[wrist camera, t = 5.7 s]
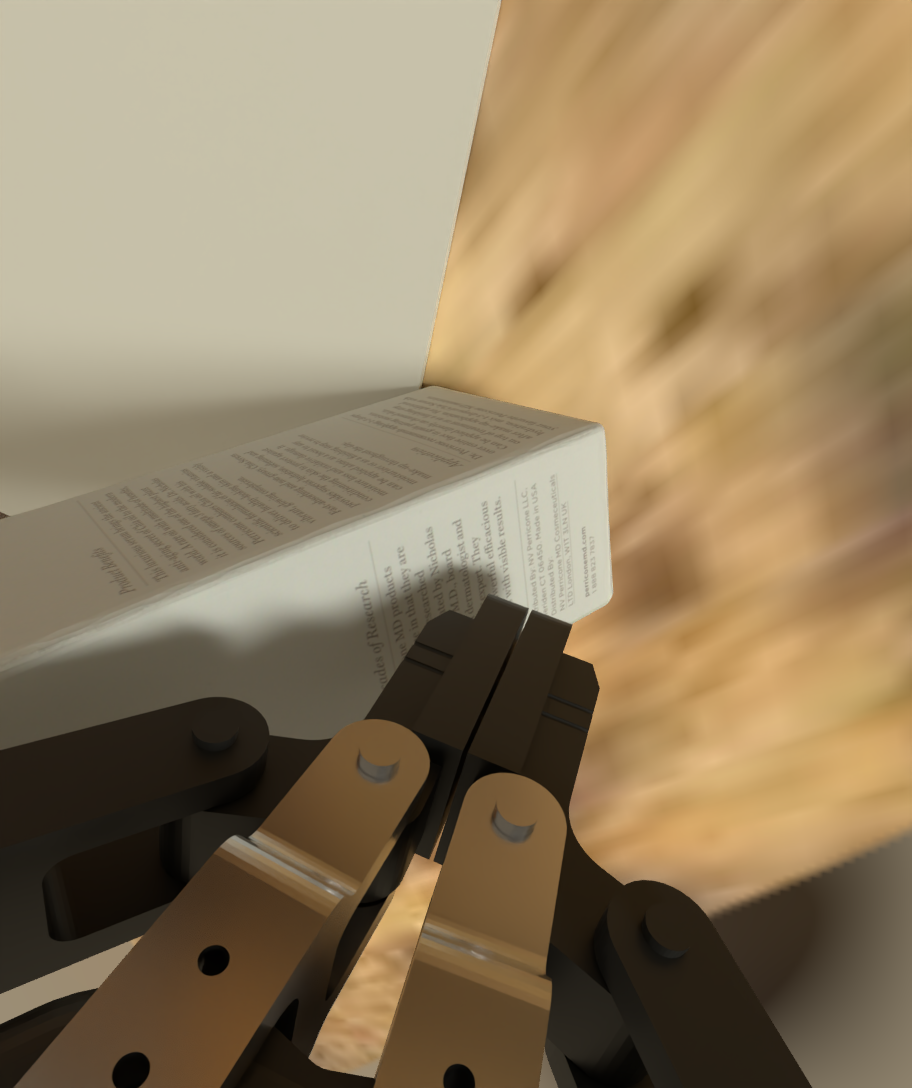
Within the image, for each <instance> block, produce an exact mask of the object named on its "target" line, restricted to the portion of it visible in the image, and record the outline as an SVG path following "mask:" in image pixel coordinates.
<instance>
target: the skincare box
mask: <svg viewBox="0 0 912 1088" xmlns="http://www.w3.org/2000/svg"><path fill="white" fill-rule="evenodd" d="M489 593H490V594H492V595H495V596H498V597H500V598H503V599H506V600H508V601H511V602H514V603H516V604H519V605H522V606H524V607H527V608H529V610H528V614H527V617H526V620H525V623H524V626H525V624H526V622H527V619H528V617H529V615H530V613H531V611H532V609H533V610H535V611H538V612H541V613H543V614H546V615H549V616H551V617H554V618H557V619H559V620H562V621H565V622H567V623H570V624H573V623H574V622H576V621H578V620H580V619H582V618H583V617H585V616H587V615H589V614H591V613H592V612H594V611H596V610H598V609H600V608H602V607H604V606H605V605H606V604H608V602H609V601H610V599H611V597H612V594H613V582H612V567H611V551H610V529H609V510H608V485H607V454H606V439H605V431H604V427H603V426H602V425H601V424H600V423H596V422H591V421H586V420H582V419H577V418H573V417H569V416H564V415H560V414H556V413H551V412H547V411H542V410H538V409H533V408H529V407H525V406H521V405H516V404H512V403H508V402H503V401H499V400H494V399H490V398H485V397H481V396H477V395H473V394H468V393H464V392H459V391H455V390H451V389H447V388H443V387H439V386H429V387H426V388H423V389H420V390H417V391H414V392H410V393H407V394H404V395H401V396H398V397H394V398H391V399H388V400H385V401H381V402H377V403H375V404H372V405H369V406H365V407H362V408H358V409H355V410H352V411H348V412H345V413H342V414H339V415H336V416H333V417H330V418H327V419H323V420H320V421H317V422H314V423H310V424H307V425H304V426H300V427H297V428H294V429H291V430H288V431H285V432H282V433H279V434H276V435H273V436H270V437H267V438H263V439H260V440H257V441H253V442H250V443H247V444H244V445H241V446H238V447H235V448H232V449H228V450H225V451H222V452H218V453H215V454H212V455H208V456H205V457H202V458H199V459H196V460H192V461H189V462H186V463H183V464H180V465H176V466H173V467H170V468H167V469H163V470H160V471H157V472H153V473H150V474H146V475H143V476H140V477H137V478H134V479H131V480H127V481H124V482H121V483H117V484H114V485H111V486H108V487H105V488H102V489H99V490H96V491H93V492H89V493H86V494H83V495H79V496H76V497H73V498H70V499H67V500H64V501H60V502H57V503H54V504H51V505H48V506H44V507H41V508H37V509H34V510H30V511H27V512H23V513H20V514H17V515H13V516H10V517H7V518H3V519H0V750H3V749H7V748H11V747H14V746H18V745H22V744H26V743H30V742H34V741H38V740H42V739H46V738H49V737H53V736H57V735H61V734H65V733H69V732H73V731H77V730H81V729H84V728H88V727H92V726H96V725H100V724H104V723H108V722H112V721H115V720H119V719H123V718H127V717H131V716H135V715H139V714H143V713H147V712H150V711H154V710H158V709H162V708H166V707H170V706H174V705H178V704H182V703H185V702H189V701H193V700H197V699H202V698H207V697H228V698H233V699H237V700H240V701H243V702H245V703H247V704H249V705H251V706H252V707H254V708H255V709H257V710H258V711H259V712H260V713H261V714H262V715H263V717H264V718H265V720H266V722H267V725H268V727H269V735H273V736H281V737H289V738H296V739H305V740H323V739H329V738H333V737H334V736H335V735H336V734H337V733H338V732H339V731H340V730H341V729H342V728H344V727H345V726H347V725H349V724H351V723H354V722H357V721H361V720H364V718H365V717H366V716H367V714H368V713H369V711H370V709H371V708H372V706H373V705H374V703H375V702H376V700H377V699H378V697H379V696H380V694H381V693H382V691H383V689H384V688H385V686H386V685H387V683H388V682H389V680H390V679H391V677H392V676H393V674H394V673H395V671H396V669H397V668H398V666H399V665H400V663H401V662H402V660H404V658H405V656H406V654H407V653H408V651H409V649H410V648H411V646H412V645H414V643H415V640H416V639H417V637H418V636H419V634H420V633H421V631H422V629H423V628H424V626H425V625H426V623H427V622H428V621H430V620H432V619H434V618H435V617H437V616H439V615H441V614H443V613H444V612H446V611H448V610H452V611H454V612H457V613H460V614H462V615H465V616H467V617H470V618H473V619H474V618H475V616H476V614H477V613H478V611H479V609H480V607H481V605H482V604H483V602H484V600H485V598H486V597H487V595H488V594H489ZM523 628H524V627H523Z"/></svg>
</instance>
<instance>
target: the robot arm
mask: <svg viewBox="0 0 912 1088" xmlns="http://www.w3.org/2000/svg"><path fill="white" fill-rule="evenodd" d="M528 610H529V608H527V607H524V606H522V605H519V604H516V603H514V602H511V601H508V600H506V599H503V598H500V597H498V596H495V595H492V594H490V593H489V594H488V595H487V597H486V598H485V600H484V602H483V604H482V605H481V607H480V609H479V611H478V613H477V614H476V616H475V618H474V619H473V618H470V617H467V616H465V615H462V614H460V613H457V612H454V611H452V610H448V611H446V612H444V613H443V614H441V615H439V616H437V617H435V618H434V619H432V620H430V621H428V622H427V623H426V625H425V626H424V628H423V629H422V631H421V633H420V634H419V636H418V637H417V639H416V640H415V643H414V645H412V646H411V648H410V649H409V651H408V653H407V654H406V656H405V658H404V660H402V662H401V663H400V665H399V666H398V668H397V669H396V671H395V673H394V674H393V676H392V677H391V679H390V680H389V682H388V683H387V685H386V686H385V688H384V689H383V691H382V693H381V694H380V696H379V697H378V699H377V700H376V702H375V703H374V705H373V706H372V708H371V709H370V711H369V713H368V714H367V716H366V717H365V718H364V720H361V721H357V722H354V723H351V724H349V725H347V726H345V727H344V728H342V729H341V730H340V731H339V732H338V733H337V734H336V735H335V736H334V737H333V738H329V739H323V740H305V739H296V738H289V737H281V736H273V735H269V727H268V725H267V722H266V720H265V718H264V717H263V715H262V714H261V713H260V712H259V711H258V710H257V709H255V708H254V707H252V706H251V705H249V704H247V703H245V702H243V701H240V700H237V699H233V698H228V697H207V698H202V699H197V700H193V701H189V702H185V703H182V704H178V705H174V706H170V707H166V708H162V709H158V710H154V711H150V712H147V713H143V714H139V715H135V716H131V717H127V718H123V719H119V720H115V721H112V722H108V723H104V724H100V725H96V726H92V727H88V728H84V729H81V730H77V731H73V732H69V733H65V734H61V735H57V736H53V737H49V738H46V739H42V740H38V741H34V742H30V743H26V744H22V745H18V746H14V747H11V748H7V749H3V750H0V994H1V993H4V992H6V991H9V990H11V989H13V988H16V987H18V986H21V985H23V984H26V983H28V982H30V981H33V980H35V979H38V978H40V977H43V976H45V975H47V974H50V973H52V972H55V971H57V970H60V969H62V968H64V967H67V966H69V965H72V964H74V963H76V962H79V961H82V960H84V959H86V958H89V957H91V956H93V955H96V954H98V953H101V952H103V951H106V950H108V949H111V948H113V947H116V946H118V945H120V944H123V943H125V942H128V941H130V940H133V939H135V938H137V937H140V936H142V935H143V937H142V938H141V939H140V940H139V941H138V942H137V944H136V945H135V946H134V947H133V948H132V949H131V951H130V952H129V953H128V955H126V956H125V958H124V959H123V960H122V961H121V962H120V964H119V965H118V966H117V967H116V968H115V969H114V971H113V972H112V973H111V974H110V975H109V976H108V978H107V979H106V980H105V981H104V982H103V984H102V985H101V986H100V987H99V988H96V989H92V990H87V991H82V992H78V993H74V994H71V995H69V996H65V997H63V998H59V999H56V1000H53V1001H51V1002H48V1003H46V1004H44V1005H42V1006H39V1007H37V1008H34V1009H33V1010H31V1011H28V1012H26V1013H24V1014H22V1015H20V1016H17V1017H15V1018H13V1019H11V1020H9V1021H7V1022H4V1023H2V1024H0V1088H539V1082H540V1075H541V1068H542V1061H543V1053H544V1047H545V1052H546V1055H547V1058H548V1061H549V1064H550V1067H551V1069H552V1072H553V1075H554V1077H555V1080H556V1082H557V1085H558V1088H812V1087H811V1085H810V1083H809V1082H808V1080H807V1079H806V1077H805V1075H804V1073H803V1072H802V1071H801V1068H800V1067H799V1065H798V1064H797V1062H796V1061H795V1059H794V1057H793V1055H792V1054H791V1052H790V1051H789V1049H788V1047H787V1046H786V1044H785V1042H784V1041H783V1039H782V1037H781V1036H780V1034H779V1032H778V1031H777V1029H776V1028H775V1026H774V1024H773V1023H772V1021H771V1019H770V1018H769V1016H768V1014H767V1013H766V1011H765V1009H764V1008H763V1006H762V1005H761V1003H760V1001H759V1000H758V998H757V996H756V995H755V993H754V991H753V990H752V988H751V986H750V985H749V983H748V982H747V980H746V978H745V977H744V975H743V973H742V972H741V970H740V968H739V967H738V965H737V964H736V962H735V960H734V959H733V957H732V955H731V954H730V952H729V950H728V949H727V947H726V946H725V944H724V942H723V941H722V939H721V937H720V936H719V934H718V932H717V931H716V929H715V927H714V926H713V924H712V922H711V921H710V920H709V918H708V917H707V915H706V914H705V913H704V912H703V910H702V909H701V908H700V907H699V906H698V905H697V904H696V903H695V902H694V901H693V900H692V899H690V898H689V897H688V896H686V895H685V894H684V893H682V892H681V891H679V890H677V889H675V888H673V887H671V886H669V885H666V884H664V883H660V882H656V881H649V880H640V881H634V882H631V883H628V884H626V885H623V884H621V883H620V882H619V881H617V880H616V879H615V878H614V877H612V876H611V875H610V874H609V873H607V872H606V871H605V870H603V869H602V868H601V867H600V866H599V865H597V864H596V863H595V862H594V861H593V860H592V859H591V858H590V857H589V856H588V855H587V854H586V853H585V851H584V850H583V849H582V847H581V846H580V844H579V843H578V841H577V839H576V837H575V835H574V833H573V830H572V828H571V825H570V820H569V804H570V799H571V795H572V792H573V788H574V784H575V780H576V776H577V773H578V769H579V765H580V761H581V757H582V754H583V750H584V746H585V742H586V738H587V735H588V734H587V733H588V730H589V727H590V723H591V719H592V716H593V715H592V714H593V711H594V708H595V704H596V700H597V697H598V693H599V689H600V688H599V685H598V681H597V678H596V675H595V671H594V668H593V664H590V663H588V662H585V661H583V660H580V659H577V658H575V657H572V656H570V655H567V654H564V653H563V650H564V648H565V645H566V642H567V639H568V636H569V633H570V630H571V628H572V625H573V624H570V623H567V622H565V621H562V620H559V619H557V618H554V617H551V616H549V615H546V614H543V613H541V612H538V611H535V610H533V609H532V611H531V613H530V615H529V617H528V619H527V622H526V624H525V626H524V623H525V620H526V617H527V614H528ZM523 627H524V628H523ZM445 822H446V823H445ZM444 824H445V826H444ZM443 826H444V829H443ZM442 829H443V833H442V836H441V839H440V842H439V845H438V848H437V852H436V855H435V858H434V862H437V863H439V864H441V865H442V868H441V871H440V874H439V877H438V880H437V883H436V886H435V889H434V892H433V896H432V898H431V901H430V904H429V907H428V910H427V913H426V916H425V920H424V923H423V926H422V929H421V932H420V935H419V939H418V942H417V945H416V948H415V951H414V954H413V957H412V961H411V964H410V967H409V970H408V973H407V976H406V980H405V983H404V986H403V989H402V992H401V995H400V999H399V1002H398V1005H397V1008H396V1011H395V1014H394V1018H393V1021H392V1024H391V1027H390V1030H389V1033H388V1036H387V1040H386V1043H385V1046H384V1049H383V1052H382V1055H381V1058H380V1062H379V1065H378V1068H377V1071H376V1074H375V1077H374V1078H369V1077H363V1076H358V1075H352V1074H347V1073H341V1072H336V1071H330V1070H326V1069H323V1068H321V1067H319V1066H317V1065H315V1064H314V1063H313V1062H312V1061H311V1060H310V1059H308V1058H309V1056H310V1054H311V1051H312V1049H313V1047H314V1044H315V1042H316V1039H317V1037H318V1034H319V1032H320V1030H321V1027H322V1025H323V1023H324V1021H325V1019H326V1017H327V1015H328V1013H329V1011H330V1009H331V1008H332V1006H333V1004H334V1002H335V1000H336V999H337V997H338V995H339V993H340V992H341V990H342V988H343V986H344V984H345V983H346V981H347V979H348V977H349V976H350V974H351V972H352V970H353V968H354V967H355V965H356V963H357V961H358V960H359V958H360V956H361V954H362V952H363V951H364V949H365V947H366V945H367V944H368V942H369V940H370V938H371V936H372V935H373V933H374V931H375V929H376V928H377V926H378V924H379V922H380V920H381V919H382V917H383V915H384V913H385V912H386V910H387V908H388V906H389V904H390V903H391V901H392V899H393V896H394V893H395V890H396V888H397V887H398V886H399V885H400V883H401V881H402V879H403V877H404V875H405V873H406V871H407V869H408V867H409V864H410V862H411V860H412V858H413V856H414V854H415V853H416V854H418V855H420V856H422V857H425V858H427V859H430V856H431V854H432V852H433V849H434V847H435V845H436V843H437V840H438V838H439V836H440V833H441V831H442Z"/></svg>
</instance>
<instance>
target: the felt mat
mask: <svg viewBox="0 0 912 1088" xmlns="http://www.w3.org/2000/svg"><path fill="white" fill-rule="evenodd" d="M500 4H501V0H0V512H1V513H4V514H6V515H9V516H13V515H17V514H20V513H23V512H27V511H30V510H34V509H37V508H41V507H44V506H48V505H51V504H54V503H57V502H60V501H64V500H67V499H70V498H73V497H76V496H79V495H83V494H86V493H89V492H93V491H96V490H99V489H102V488H105V487H108V486H111V485H114V484H117V483H121V482H124V481H127V480H131V479H134V478H137V477H140V476H143V475H146V474H150V473H153V472H157V471H160V470H163V469H167V468H170V467H173V466H176V465H180V464H183V463H186V462H189V461H192V460H196V459H199V458H202V457H205V456H208V455H212V454H215V453H218V452H222V451H225V450H228V449H232V448H235V447H238V446H241V445H244V444H247V443H250V442H253V441H257V440H260V439H263V438H267V437H270V436H273V435H276V434H279V433H282V432H285V431H288V430H291V429H294V428H297V427H300V426H304V425H307V424H310V423H314V422H317V421H320V420H323V419H327V418H330V417H333V416H336V415H339V414H342V413H345V412H348V411H352V410H355V409H358V408H362V407H365V406H369V405H372V404H375V403H377V402H381V401H385V400H388V399H391V398H394V397H398V396H401V395H404V394H407V393H410V392H414V391H417V390H420V389H421V387H422V382H423V377H424V372H425V368H426V363H427V358H428V353H429V348H430V343H431V339H432V334H433V329H434V324H435V319H436V314H437V310H438V305H439V300H440V295H441V290H442V285H443V280H444V276H445V271H446V266H447V261H448V256H449V251H450V247H451V242H452V237H453V232H454V227H455V222H456V218H457V213H458V208H459V203H460V198H461V193H462V188H463V184H464V179H465V174H466V169H467V164H468V159H469V155H470V150H471V145H472V140H473V135H474V130H475V126H476V121H477V116H478V111H479V106H480V101H481V96H482V92H483V87H484V82H485V77H486V72H487V67H488V63H489V58H490V53H491V48H492V43H493V38H494V34H495V29H496V24H497V19H498V14H499V9H500Z"/></svg>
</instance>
